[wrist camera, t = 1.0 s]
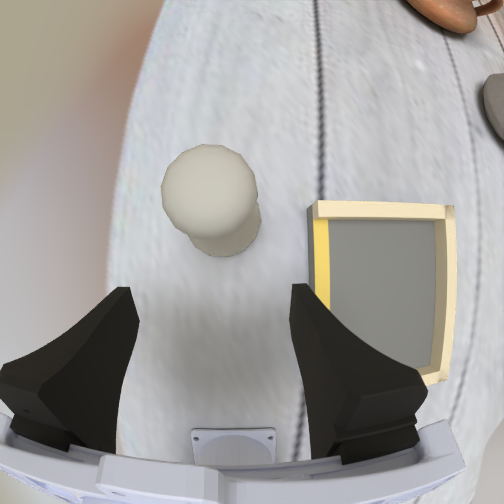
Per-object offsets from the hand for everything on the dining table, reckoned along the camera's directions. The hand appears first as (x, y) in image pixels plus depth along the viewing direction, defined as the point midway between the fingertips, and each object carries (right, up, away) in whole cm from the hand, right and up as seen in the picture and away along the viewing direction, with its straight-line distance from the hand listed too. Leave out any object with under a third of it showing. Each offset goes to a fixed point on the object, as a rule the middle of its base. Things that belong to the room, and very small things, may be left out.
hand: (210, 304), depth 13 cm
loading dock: (+13, -2, +12) cm, 18 cm away
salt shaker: (-1, +5, +12) cm, 13 cm away
